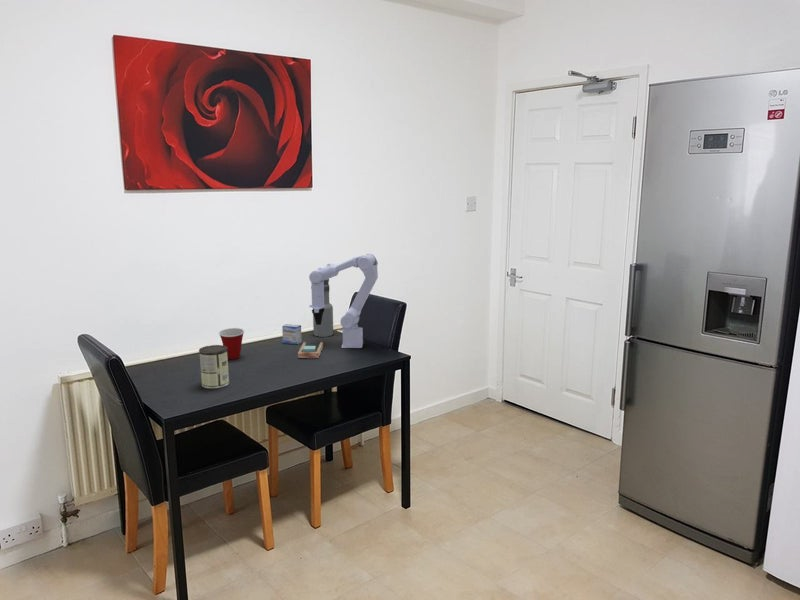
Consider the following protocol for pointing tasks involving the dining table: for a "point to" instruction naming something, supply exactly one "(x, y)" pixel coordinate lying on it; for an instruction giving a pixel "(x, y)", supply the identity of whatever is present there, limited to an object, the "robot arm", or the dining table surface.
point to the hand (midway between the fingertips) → (318, 324)
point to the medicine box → (291, 334)
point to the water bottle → (325, 316)
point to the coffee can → (214, 366)
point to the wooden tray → (310, 354)
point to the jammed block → (309, 349)
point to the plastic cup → (232, 341)
